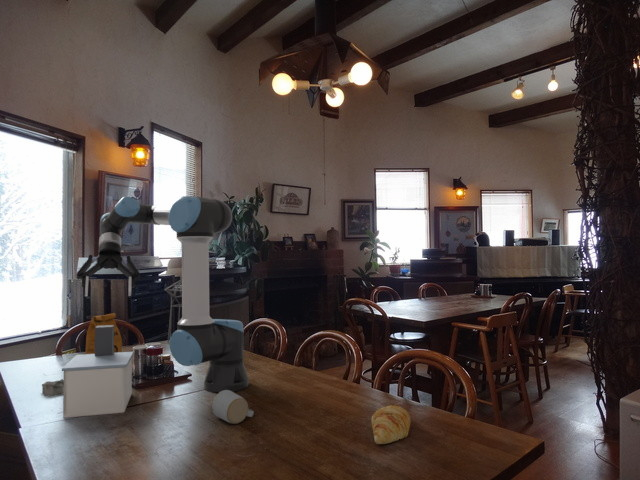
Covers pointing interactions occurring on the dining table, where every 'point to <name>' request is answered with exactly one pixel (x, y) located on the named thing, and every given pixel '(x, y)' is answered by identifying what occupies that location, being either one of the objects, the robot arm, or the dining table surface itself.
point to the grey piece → (53, 387)
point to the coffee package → (102, 321)
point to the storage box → (97, 391)
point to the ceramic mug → (231, 407)
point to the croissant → (390, 424)
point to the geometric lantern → (172, 302)
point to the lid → (100, 353)
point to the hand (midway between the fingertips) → (108, 293)
